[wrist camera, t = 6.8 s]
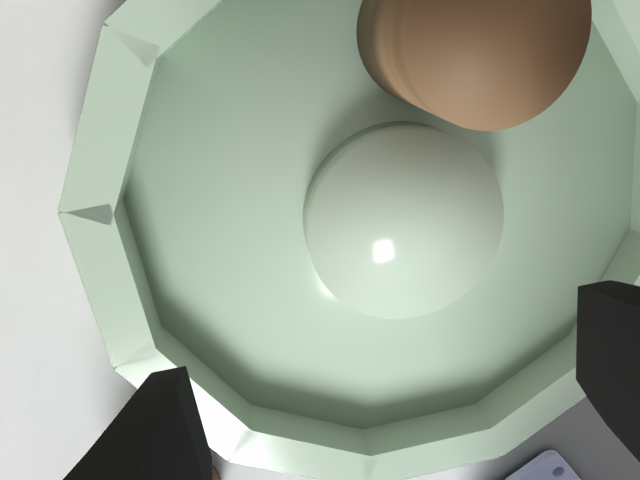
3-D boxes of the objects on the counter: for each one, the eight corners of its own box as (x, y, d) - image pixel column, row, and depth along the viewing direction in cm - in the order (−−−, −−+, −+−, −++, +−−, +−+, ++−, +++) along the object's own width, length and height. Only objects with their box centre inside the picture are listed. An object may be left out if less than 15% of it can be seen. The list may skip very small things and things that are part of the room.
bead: (449, 123, 17) (526, 159, 13) (332, 66, 16) (370, 82, 12) (517, -6, 16) (628, -17, 12) (396, -76, 15) (466, -120, 11)
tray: (733, 226, 21) (791, 249, 19) (342, 512, 24) (353, 563, 21) (462, -296, 14) (503, -354, 12) (-48, 180, 17) (-91, 204, 15)
